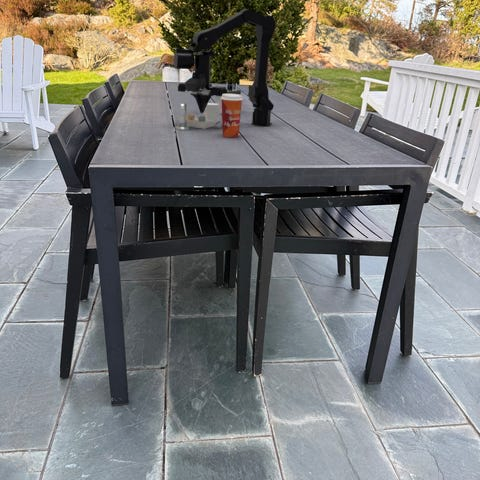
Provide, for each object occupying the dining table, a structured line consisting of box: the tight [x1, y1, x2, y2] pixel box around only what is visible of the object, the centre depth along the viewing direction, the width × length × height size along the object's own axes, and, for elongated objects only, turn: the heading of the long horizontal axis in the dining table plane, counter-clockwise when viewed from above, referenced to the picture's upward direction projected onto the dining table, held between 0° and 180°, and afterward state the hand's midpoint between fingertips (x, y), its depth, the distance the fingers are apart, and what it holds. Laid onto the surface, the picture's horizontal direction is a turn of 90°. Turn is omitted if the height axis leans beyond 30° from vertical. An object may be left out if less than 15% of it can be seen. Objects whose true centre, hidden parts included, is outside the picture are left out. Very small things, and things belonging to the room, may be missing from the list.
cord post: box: [175, 102, 190, 131], centre depth 161 cm, size 5×5×9 cm
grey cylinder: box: [203, 102, 220, 124], centre depth 179 cm, size 7×7×7 cm
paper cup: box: [221, 94, 244, 138], centre depth 153 cm, size 8×8×14 cm
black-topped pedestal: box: [214, 82, 242, 115], centre depth 200 cm, size 28×26×13 cm
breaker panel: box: [187, 114, 216, 130], centre depth 170 cm, size 12×8×4 cm, turn 62°
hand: (201, 112), depth 168 cm, fingers closed
